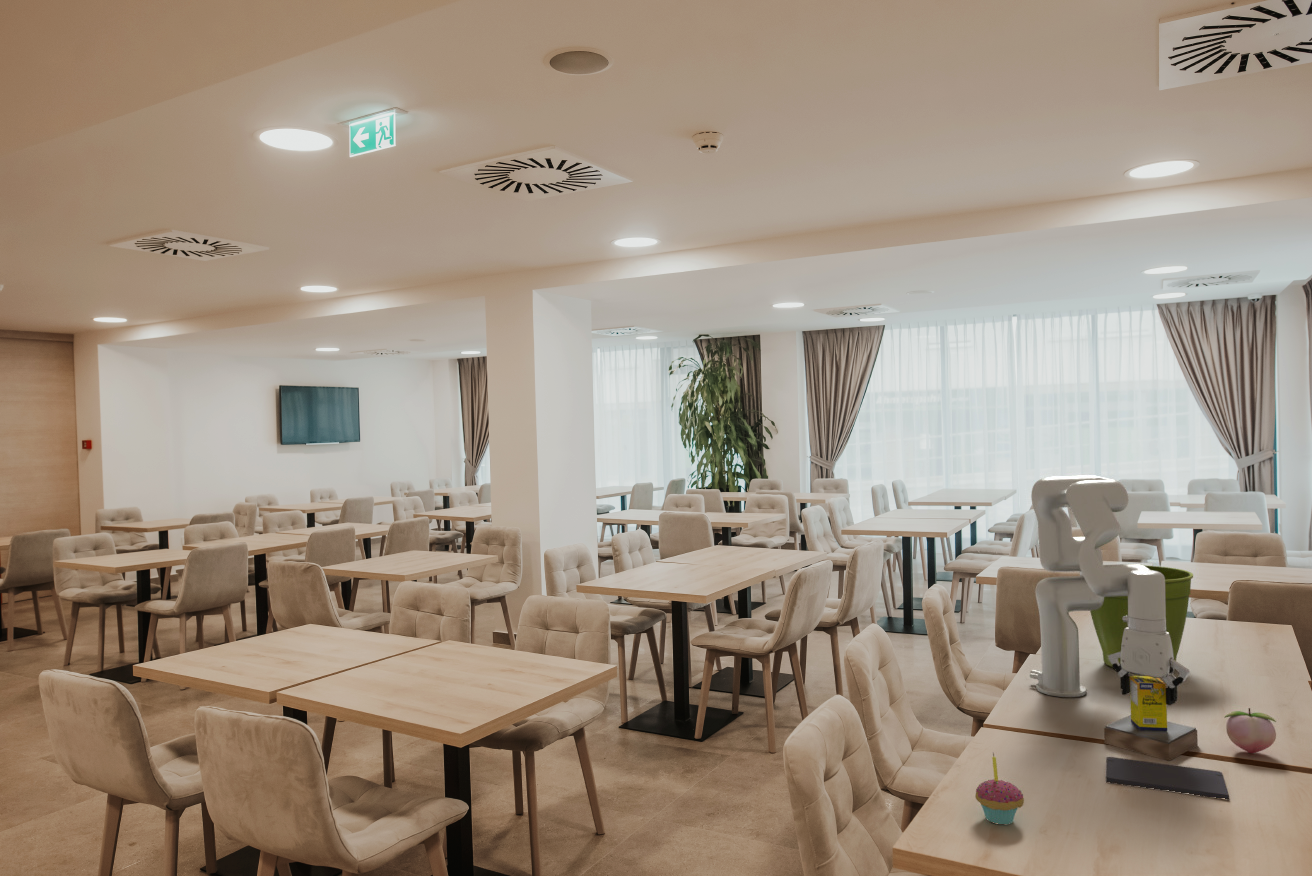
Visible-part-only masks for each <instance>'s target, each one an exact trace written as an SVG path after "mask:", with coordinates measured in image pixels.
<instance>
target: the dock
mask: <svg viewBox="0 0 1312 876" xmlns="http://www.w3.org/2000/svg"><path fill="white" fill-rule="evenodd" d="M1103 732H1104V738H1103V739H1104V744H1106V745H1108V746H1109V745H1110V746H1112V747H1113V746H1114V747H1117V748H1121V749H1124V750H1128V751H1131V752H1132V751H1133V752H1135V753H1140V754H1142V755H1147V756H1150V757H1154V758H1158V759H1161V760H1165V761H1168V762H1170V761H1172V760H1173V759H1176V758H1177V757H1179V756H1181V755H1183V754H1185V753H1186V752H1188V750H1189V751H1190V749H1191V750H1193V749H1194V748H1196V747H1198V743H1199V742H1198V729H1197V728H1196V727H1193V726H1190V725H1189V726H1188V725H1185V724H1184V725H1183V724H1180V723H1176V722H1172V721H1168V720H1167V731H1152V730H1139V729H1138V728H1137V727H1136V726H1135V725H1134V724H1133V723H1132V722H1131V714H1130V715H1128V716H1125V717H1123V718H1120V719H1117V720H1116V721H1113V722H1112V723H1109V724H1107V725H1105V726H1104V728H1103Z"/></svg>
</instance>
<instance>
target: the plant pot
mask: <svg viewBox="0 0 1312 876" xmlns="http://www.w3.org/2000/svg"><path fill="white" fill-rule="evenodd" d="M1144 566H1146V567H1147V568H1149V569H1150V570H1153V571H1158V572H1160V573H1162V574H1163V575H1164V578H1165V607H1166V632H1169V635H1170V639H1171V643H1172V649H1173V656H1174V660H1175V661H1176V662H1177V658H1178V654H1179V650H1180V646H1181V642H1182V638H1183V635H1184V631H1185V625H1186V622H1187V621H1186V619H1187V616H1188V607H1189V602H1190V600H1189V599H1190V595H1191V587H1192V586H1191V584H1192V579H1193V578H1194V573H1192V572H1190V571H1188V570H1184V569H1179V568H1176V567H1167V566H1157V565H1156V566H1155V565H1145V564H1144ZM1089 613H1090V615H1091V620H1092V622H1093V623H1092V624H1093V626H1094V631H1095V633H1096V636H1097V640H1098V642H1099V645H1100V648H1101V651H1102V659H1103V662H1104V664H1106V665H1107V666H1109V667H1110V668H1113V667H1112V664H1111V662H1110V660H1109V657H1108V656H1109V655H1111V654H1114V653H1117V652H1121V646H1122V638H1123V633H1124V629H1125V628H1127V627H1128V624H1127V622H1124V621H1123V620H1122V618H1123V616H1127V615H1128V596H1118V597H1104V602H1103V605H1102V606H1101V607H1100V608H1099V609H1097V610H1092V611H1090V612H1089ZM1118 662H1119V663H1120V664H1121V657H1120V658H1118Z"/></svg>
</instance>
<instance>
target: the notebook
mask: <svg viewBox="0 0 1312 876" xmlns="http://www.w3.org/2000/svg"><path fill="white" fill-rule="evenodd" d="M1105 763H1106V765H1105V766H1106V768H1105V770H1106V771H1105V782H1106V783H1107V782H1110V783H1109V784H1114V783H1117V784H1116V785H1121V784H1123V785H1122V786H1127V785H1131V786H1130V787H1134V786H1140V787H1139V788H1141V787H1146V788H1145V789H1148V788H1154V789H1153V790H1155V789H1160V790H1159V791H1162V790H1169V791H1175V792H1181V793H1180V794H1182V793H1189V794H1194V795H1193V796H1196V795H1200V796H1199V797H1203V796H1205V798H1210V797H1216V798H1215V799H1217V798H1225V799H1229V800H1230V795H1229V791H1228V788H1227V783H1226V780H1225V777H1224V774H1223V772H1221V771H1219V770H1211V769H1205V768H1199V767H1196V768H1195V767H1188V766H1183V765H1176V764H1175V765H1174V764H1166V763H1161V762H1160V763H1159V762H1153V761H1152V762H1150V761H1146V760H1138V759H1129V758H1122V757H1114V756H1106V762H1105ZM1169 791H1168V792H1169ZM1175 792H1174V793H1175ZM1189 794H1188V795H1189Z"/></svg>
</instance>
